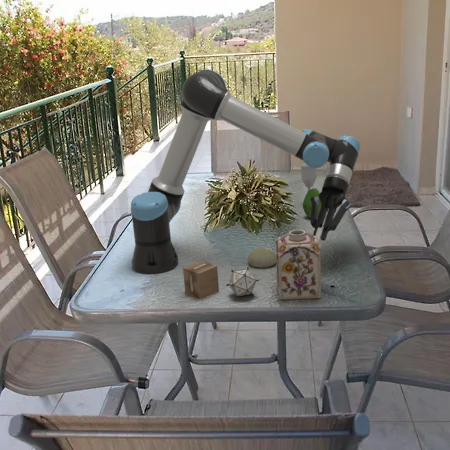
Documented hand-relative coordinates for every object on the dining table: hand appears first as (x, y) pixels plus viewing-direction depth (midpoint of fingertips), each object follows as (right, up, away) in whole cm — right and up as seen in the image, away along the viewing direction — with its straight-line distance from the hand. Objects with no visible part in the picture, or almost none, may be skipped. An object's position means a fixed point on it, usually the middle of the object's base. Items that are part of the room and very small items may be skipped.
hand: (315, 248), depth 175 cm
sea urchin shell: (-15, -6, +14) cm, 21 cm away
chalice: (+8, +14, +69) cm, 71 cm away
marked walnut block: (-34, -12, -4) cm, 36 cm away
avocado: (+8, +10, +56) cm, 57 cm away
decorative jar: (-6, -12, -7) cm, 15 cm away
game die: (-22, -13, -8) cm, 27 cm away
